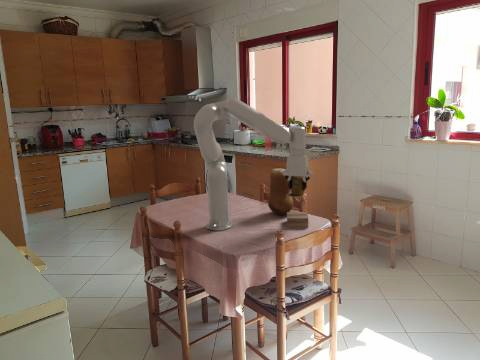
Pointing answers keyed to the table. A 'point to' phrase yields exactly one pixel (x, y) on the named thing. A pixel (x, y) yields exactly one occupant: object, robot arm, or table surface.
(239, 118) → the robot arm
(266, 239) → the table surface
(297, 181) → the condiment
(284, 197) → the butternut squash
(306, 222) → the beige square block
